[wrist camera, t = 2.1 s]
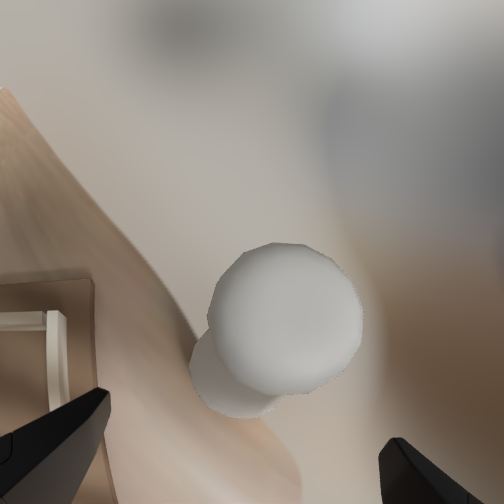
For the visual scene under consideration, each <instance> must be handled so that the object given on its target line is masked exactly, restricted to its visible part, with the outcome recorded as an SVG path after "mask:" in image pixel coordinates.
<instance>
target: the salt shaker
mask: <svg viewBox="0 0 504 504" xmlns="http://www.w3.org/2000/svg"><path fill="white" fill-rule="evenodd" d="M207 320H208V325H209V329H208V330H207V331H206V333H205V334H204V335H203V336H202V337H201V338H200V339H199V340H198V341H197V343H196V344H195V346H194V350H193V353H192V357H191V360H190V363H189V369H190V374H191V378H192V383H193V387H194V389H195V391H196V392H197V393H198V395H199V396H200V397H201V399H202V400H203V401H204V403H205V404H206V405H207V407H208V408H210V409H212V410H214V411H217V412H219V413H221V414H223V415H226V416H228V417H230V418H256V417H258V416H260V415H262V414H264V413H266V412H268V411H270V410H272V409H273V408H275V407H276V406H277V405H278V404H279V403H280V401H281V400H282V399H283V398H284V396H285V395H294V394H308V393H310V392H312V391H314V390H315V389H317V388H319V387H321V386H322V385H324V384H325V383H327V382H329V381H330V380H332V379H334V378H335V377H337V376H338V375H339V374H340V373H341V372H343V371H344V370H345V368H346V367H347V365H348V363H349V362H350V360H351V359H352V357H353V355H354V354H355V352H356V350H357V349H358V347H359V346H360V344H361V339H362V325H363V309H362V306H361V303H360V300H359V297H358V294H357V292H356V289H355V286H354V283H353V281H352V280H351V279H350V278H349V277H348V276H347V275H346V274H345V273H344V272H343V270H342V269H341V268H340V267H339V266H338V265H337V264H336V263H335V262H334V261H333V260H332V259H331V258H329V257H327V256H325V255H323V254H321V253H319V252H317V251H315V250H314V249H311V248H310V247H308V246H306V245H302V244H286V243H270V244H268V245H264V246H262V247H259V248H256V249H253V250H250V251H247V252H244V253H243V254H242V255H241V256H240V257H239V258H238V259H237V260H236V261H235V262H234V264H232V266H231V267H230V268H229V269H228V270H227V271H226V272H225V273H224V274H223V275H222V276H221V278H220V280H219V281H218V282H217V284H216V287H215V291H214V294H213V298H212V301H211V304H210V307H209V311H208V314H207Z"/></svg>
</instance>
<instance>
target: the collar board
mask: <svg viewBox="0 0 504 504" xmlns="http://www.w3.org/2000/svg"><path fill="white" fill-rule="evenodd" d="M96 387H98V383H97V371H96V356H95V333H94V283H93V281H92V280H91V278H86V279H74V280H61V281H48V282H35V283H21V284H7V285H0V437H1V436H3V435H5V434H7V433H9V432H13V431H14V430H16V429H18V428H20V427H22V426H24V425H25V424H27V423H29V422H31V421H33V420H35V419H37V418H39V417H41V416H43V415H45V414H47V413H49V412H51V411H53V410H55V409H56V408H58V407H60V406H62V405H64V404H66V403H68V402H70V401H72V400H73V399H75V398H77V397H79V396H81V395H83V394H85V393H86V392H88V391H90V390H92V389H94V388H96ZM72 504H118V501H117V497H116V493H115V488H114V484H113V480H112V475H111V471H110V466H109V461H108V456H107V450H106V444H105V438H104V433H103V436H102V439H101V442H100V444H99V447H98V450H97V453H96V455H95V457H94V459H93V461H92V463H91V465H90V467H89V469H88V471H87V473H86V475H85V477H84V479H83V481H82V483H81V485H80V487H79V489H78V491H77V494H76V496H75V498H74V500H73V502H72Z"/></svg>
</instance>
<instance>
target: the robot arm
mask: <svg viewBox="0 0 504 504" xmlns="http://www.w3.org/2000/svg"><path fill="white" fill-rule="evenodd" d="M110 413H111V399H110V392H109V391H108V390H105V389H102V388H100V387H96V388H94V389H92V390H90V391H88V392H86V393H85V394H83V395H81V396H79V397H77V398H75V399H73V400H72V401H70V402H68V403H66V404H64V405H62V406H60V407H58V408H56V409H55V410H53V411H51V412H49V413H47V414H45V415H43V416H41V417H39V418H37V419H35V420H33V421H31V422H29V423H27V424H25V425H24V426H22V427H20V428H18V429H16V430H14V431H13V432H9V433H7V434H5V435H3V436H1V437H0V504H72V502H73V500H74V498H75V496H76V494H77V491H78V489H79V487H80V485H81V483H82V481H83V479H84V477H85V475H86V473H87V471H88V469H89V467H90V465H91V463H92V461H93V459H94V457H95V455H96V453H97V450H98V447H99V444H100V442H101V439H102V436H103V433H104V430H105V428H106V425H107V422H108V419H109V417H110ZM378 460H379V472H380V486H381V496H382V502H383V504H484V503H482V502H481V501H480V500H478V499H477V498H476V497H474V496H473V495H472V494H471V493H469V492H467V490H465V489H464V488H463V487H462V486H460V485H459V484H458V483H457V482H455V481H454V480H453V479H451V478H450V477H449V476H448V475H447V474H445V473H444V472H443V471H442V470H441V469H439V468H438V467H437V466H435V465H434V464H433V463H432V462H431V461H430V460H428V459H427V458H426V457H425V456H424V455H422V454H421V453H420V452H419V451H418V450H416V449H415V448H414V447H413V446H412V445H411V444H409V443H408V442H407V441H406V440H405V439H403V438H401V437H399V438H398V437H397V438H391V439H390V440H389V441H388V442H387V444H386V445H385V446H384V448H383V449H382V450H381V452H380V453H379V458H378Z"/></svg>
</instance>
